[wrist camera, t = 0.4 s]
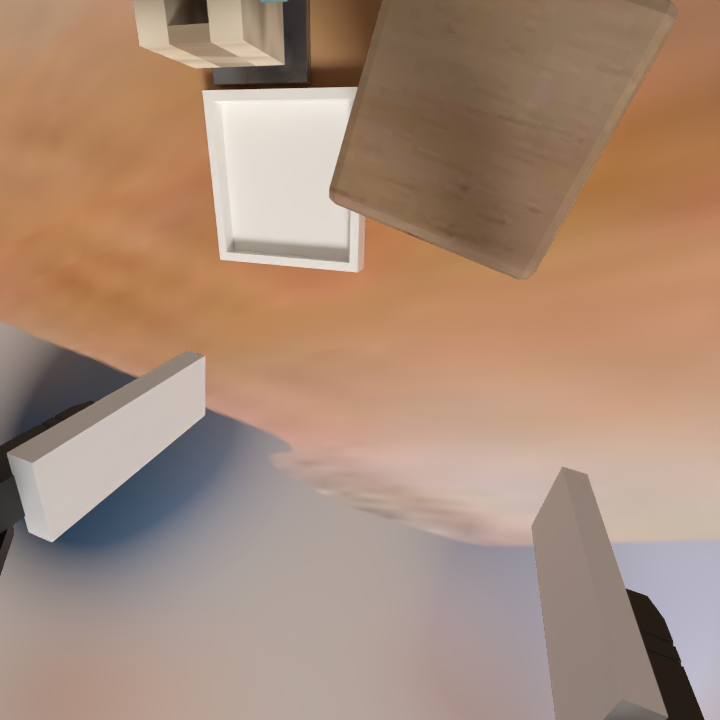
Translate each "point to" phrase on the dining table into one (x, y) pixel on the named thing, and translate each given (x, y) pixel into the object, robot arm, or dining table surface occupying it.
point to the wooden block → (491, 117)
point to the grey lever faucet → (294, 53)
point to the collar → (213, 31)
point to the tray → (281, 177)
